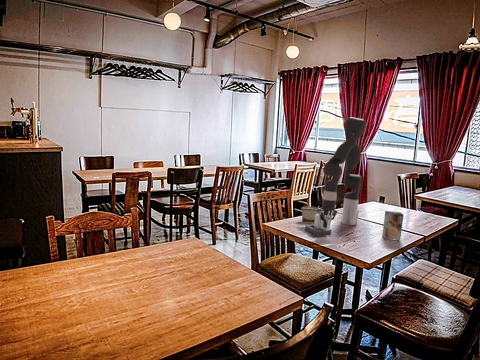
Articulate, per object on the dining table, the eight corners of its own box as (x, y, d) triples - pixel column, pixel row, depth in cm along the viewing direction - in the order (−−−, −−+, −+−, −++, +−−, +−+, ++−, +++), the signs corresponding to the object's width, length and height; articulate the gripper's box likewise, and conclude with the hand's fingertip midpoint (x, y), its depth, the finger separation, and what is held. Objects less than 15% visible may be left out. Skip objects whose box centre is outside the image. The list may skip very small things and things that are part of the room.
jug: (311, 230, 224) (313, 214, 222) (317, 229, 226) (319, 213, 225) (324, 236, 215) (326, 219, 213) (330, 234, 218) (332, 218, 216)
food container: (317, 221, 249) (319, 207, 247) (318, 224, 243) (320, 209, 241) (299, 219, 250) (300, 205, 248) (299, 222, 244) (301, 207, 242)
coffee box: (397, 237, 225) (401, 212, 222) (400, 241, 218) (404, 214, 216) (381, 236, 226) (385, 210, 223) (384, 239, 219) (387, 213, 217)
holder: (321, 227, 236) (322, 221, 235) (341, 237, 218) (342, 231, 217) (294, 228, 228) (295, 223, 228) (312, 239, 210) (313, 233, 210)
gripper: (325, 200, 207) (322, 230, 210) (342, 199, 214) (339, 227, 217) (316, 197, 213) (313, 226, 216) (333, 196, 221) (330, 224, 224)
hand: (326, 227), depth 217 cm, fingers closed on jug
